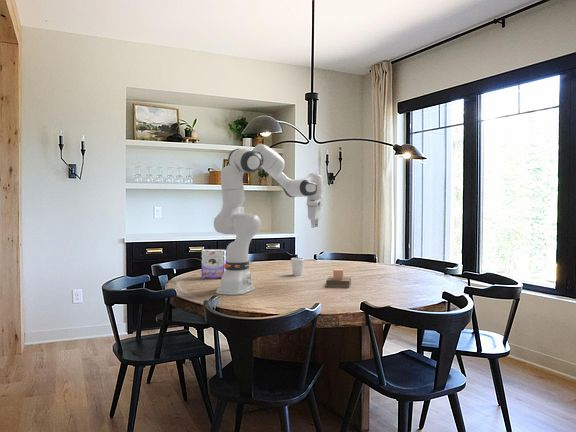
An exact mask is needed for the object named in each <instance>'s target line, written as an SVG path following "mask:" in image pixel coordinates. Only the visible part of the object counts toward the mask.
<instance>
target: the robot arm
mask: <svg viewBox="0 0 576 432" xmlns="http://www.w3.org/2000/svg"><path fill="white" fill-rule="evenodd" d="M285 165H286V163H285V160H284V158H283V157H282V156H281V155H280V154H279V153H278V152H276V151H275V150H273V148H271V147H269V146H267V145H266V144H263V143H259V144H257V145H255V147H254V148H253V149H251V150H249V149H246V148H235V149H233V150H232V151H230V152H229V154H228V158H227V162H226V166H224V167H223V168H222V169H221V171H220V186H221V196H222V205H221V206H222V207H221V208H220V209H221V210H220V211H219V213H218V214H216V216H215V217H214V219H213V228H214V230H215V232H217V233H218V234H219V233H220V234H223V235H235V239H234V241H231V242H229V244H228V245H227V247H226V264H224V268H225V272H224V274H223V276H222V278H220V285H219V287H218V288H216V291H215V294H218V295H226V296H227V295H231V296H235V295H236V296H237V295H245V294H247V293H249V292H251V291H254V290H256V287H255V286H253V274H252V272H251V271H250V269H249V268H250V261H249V248H250V243H251V241H252V239H253V238H254V237H255V236H256V235H257V234H258V233H259V232H260V230H261V228H262V220H261V218H260V217H259V216H258V215H256V214H253V213H238V208H239V207H242V206H243V204H244V203H245V201H246V196H245V195H246V194H245V188H244V181H243V177H244V174H245V173H255V172H257V171H258V170H260V168H261V169H262V170H264V171H265V172H266V173H268V175H269V176H270V178H271V179H272V180H273V181H275V183H277V184H278V185H279V186H280V187H281V188H282V190H283V191H284V193H285V194H286V196H288V197H289V198H299V197H300V198H302V197H306V207H307V218H308V220H309V221H310V225H311V226H310V227H311V228H312V229H314V228H318V227H319V221H320V219H321V217H322V216H321V215H322V212H321V207H322V206H323V205H324V203H323V202H324V196H323V191H324V182H323V181H324V180H323V176H322V175H321V174H318V173H313V172H312V173H309V174H307V176H306V177H304V178H301V179H299V178H298V179H293V178H290V177H288V176H287V175H286V173H284V172H283V171H284V169H285Z"/></svg>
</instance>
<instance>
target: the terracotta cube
mask: <svg viewBox="0 0 576 432" xmlns="http://www.w3.org/2000/svg"><path fill="white" fill-rule="evenodd" d="M344 272H345V271H344V268H333V272H332V273H333V274H332V277H333V280H343V278H344V277H345V274H344Z"/></svg>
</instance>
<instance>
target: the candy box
mask: <svg viewBox="0 0 576 432" xmlns="http://www.w3.org/2000/svg"><path fill="white" fill-rule="evenodd" d="M200 253H201V254H200V260H201V261H200V263H201V264H200V265H201V266H200V268H201V269H200V270H201V279H222V276H223V274H224V272H225V268H224V264H226V261H227V249H202V250H201V251H200Z"/></svg>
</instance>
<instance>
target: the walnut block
mask: <svg viewBox="0 0 576 432" xmlns="http://www.w3.org/2000/svg"><path fill="white" fill-rule="evenodd" d="M325 283H326V284H325V285H326V288H340V289H341V288H345V289H350V287H351V284H352V277H350V276H344V278H343V280H333V276H328V278H327V279H326V281H325Z"/></svg>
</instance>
